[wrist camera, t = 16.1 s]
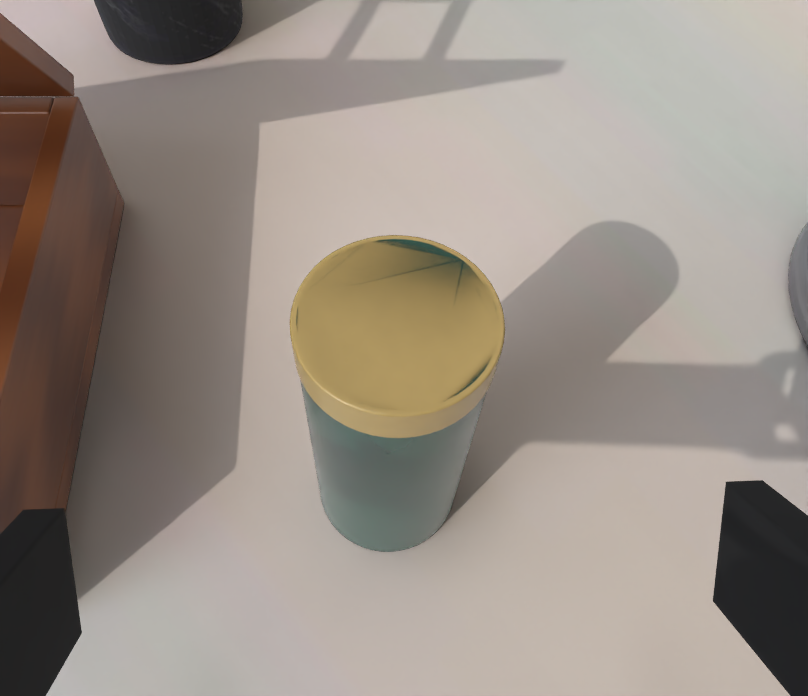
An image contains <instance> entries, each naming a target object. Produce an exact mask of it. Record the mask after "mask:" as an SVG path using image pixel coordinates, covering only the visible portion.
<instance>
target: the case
mask: <svg viewBox="0 0 808 696" xmlns="http://www.w3.org/2000/svg"><path fill="white" fill-rule="evenodd" d="M123 208H124V202H123V199H122V197H121V195H120V192H119V190H118V188H117V186H116V184H115V181H114V179H113V177H112V174H111V172H110V170H109V167H108V165H107V163H106V160H105V158H104V156H103V153H102V151H101V149H100V146H99V144H98V142H97V139H96V137H95V135H94V132H93V130H92V128H91V125H90V123H89V121H88V118H87V116H86V114H85V111H84V109H83V107H82V104H81V102H80V100H79V98H78V97H55V98H53V97H0V534H1V533H2V532H3V531H4V530H5V529H6V527H7V526H8V525H9V524H10V523H11V522H12V521H13V520H14V519H15V518H16V517H17V516H18V515H19V514H20V513H21V512H22V510H28V509H53V508H64V509H65V512H66V507H67V502H68V496H69V491H70V486H71V481H72V475H73V470H74V465H75V460H76V454H77V449H78V444H79V439H80V433H81V428H82V423H83V418H84V412H85V407H86V402H87V397H88V391H89V386H90V381H91V376H92V370H93V365H94V360H95V355H96V349H97V344H98V339H99V334H100V328H101V323H102V318H103V313H104V307H105V302H106V297H107V292H108V286H109V281H110V276H111V271H112V265H113V260H114V255H115V250H116V244H117V239H118V234H119V229H120V223H121V218H122V213H123Z"/></svg>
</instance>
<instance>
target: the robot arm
mask: <svg viewBox="0 0 808 696" xmlns="http://www.w3.org/2000/svg"><path fill="white" fill-rule="evenodd" d="M788 279H789V293H790V299H791V305H792V308H793V312H794V316H795V319H796V322H797V324H798V327H799V329H800V332H801V334H802V336H803V338H804V340H805V342H806V344H807V346H808V223H807V224H806V225H805V227H804V228H803V229H802V231H801V233H800V235H799V236H798V238H797V240H796V243H795V245H794V248H793V250H792V254H791V259H790V263H789V274H788ZM713 602H714V603H715V604H716V605H717V607H718V608H719V609H720V610H721V611H722V613H723V614H724V615H725V616H726V618H727V619H728V620H729V621H730V622H731V624H732V625H733V626H734V627H735V629H736V630H737V631H738V632H739V633H740V635H741V636H742V637H743V638H744V640H745V641H746V642H747V643H748V644H749V646H750V647H751V648H752V649H753V650H754V652H755V653H756V654H757V655H758V657H759V658H760V659H761V660H762V661H763V663H764V664H765V665H766V666H767V668H768V669H769V670H770V671H771V672H772V674H773V675H774V676H775V677H776V679H777V680H778V681H779V682H780V683H781V685H782V686H783V687H784V688H785V690H786V691H787V692H788V693H789V694H790V696H808V516H807V515H806V514H805V513H804V512H802V511H801V510H800V509H798V508H797V507H796V506H795V505H793V504H792V503H791V502H789V501H788V500H787V499H786V498H784V497H783V496H782V495H780V494H779V493H778V492H777V491H775V490H774V489H773V488H771V487H770V486H769V485H768V484H766V483H765V482H764V481H762V480H761V481H735V482H726V487H725V496H724V505H723V514H722V523H721V532H720V541H719V551H718V560H717V569H716V578H715V587H714V596H713ZM81 633H82V631H81V624H80V617H79V610H78V602H77V595H76V588H75V581H74V574H73V567H72V559H71V552H70V545H69V538H68V531H67V523H66V516H65V509H64V508H53V509H28V510H22V512H21V513H20V514H19V515H18V516H17V517H16V518H15V519H14V520H13V521H12V522H11V523H10V524H9V525H8V526H7V527H6V529H5V530H4V531H3V532H2V533H1V534H0V696H46V694H47V693H48V691H49V689H50V687H51V686H52V684H53V682H54V680H55V679H56V677H57V675H58V673H59V672H60V670H61V668H62V666H63V665H64V663H65V661H66V659H67V658H68V656H69V654H70V652H71V651H72V649H73V647H74V645H75V644H76V642H77V640H78V638H79V637H80V635H81Z"/></svg>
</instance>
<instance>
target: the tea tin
mask: <svg viewBox="0 0 808 696" xmlns="http://www.w3.org/2000/svg"><path fill="white" fill-rule="evenodd" d="M290 335H291V341H292V346H293V352H294V358H295V363H296V368H297V371H298V374H299V377H300V380H301V386H302V391H303V397H304V403H305V409H306V414H307V420H308V426H309V432H310V437H311V443H312V449H313V455H314V460H315V466H316V472H317V478H318V483H319V489H320V495H321V500H322V504H323V507H324V510H325V512H326V514H327V516H328V518H329V520H330V521H331V523H332V524H333V526H334V527H335V528H336V529H337V530H338V531H339V532H340V533H341V534H342V535H343V536H344V537H345V538H347V539H348V540H350V541H351V542H353V543H355V544H357V545H359V546H361V547H364V548H367V549H370V550H375V551H383V552H392V551H400V550H405V549H409V548H411V547H414V546H416V545H418V544H420V543H422V542H424V541H425V540H427V539H428V538H429V537H431V536H432V535H433V534H434V533H435V532H436V531H437V530H438V529H439V528H440V527H441V525H442V524H443V523H444V521H445V520H446V518H447V516H448V514H449V512H450V509H451V507H452V504H453V500H454V497H455V494H456V491H457V487H458V484H459V481H460V478H461V474H462V471H463V468H464V464H465V461H466V458H467V455H468V451H469V448H470V445H471V442H472V438H473V435H474V432H475V429H476V425H477V422H478V419H479V416H480V412H481V409H482V406H483V402H484V399H485V396H486V393H487V390H488V388H489V386H490V384H491V382H492V379H493V377H494V374H495V371H496V367H497V364H498V361H499V358H500V355H501V351H502V347H503V343H504V335H505V323H504V315H503V310H502V306H501V303H500V301H499V298H498V295H497V293H496V292H495V290H494V288H493V286H492V284H491V283H490V281H489V280H488V279H487V277H486V276H485V275H484V274H483V273H482V271H481V270H480V269H479V268H478V267H477V266H476V265H475V264H473V263H472V262H471V261H470V260H468V259H467V258H466V257H464V256H463V255H461V254H460V253H458V252H457V251H455V250H453V249H451V248H449V247H447V246H445V245H442V244H440V243H437V242H434V241H431V240H427V239H423V238H419V237H412V236H400V235H389V236H378V237H372V238H367V239H363V240H360V241H356V242H353V243H351V244H349V245H346V246H344V247H342V248H340V249H338V250H336V251H334V252H333V253H331V254H330V255H328V256H327V257H326V258H324V259H323V260H322V261H320V262H319V263H318V264H317V265H316V266H315V267H314V268H313V269H312V270H311V272H310V273H309V274H308V275H307V276H306V278H305V279H304V281H303V282H302V284H301V286H300V287H299V289H298V291H297V294H296V296H295V298H294V301H293V305H292V309H291V316H290Z"/></svg>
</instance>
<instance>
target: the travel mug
mask: <svg viewBox="0 0 808 696" xmlns="http://www.w3.org/2000/svg"><path fill="white" fill-rule="evenodd" d="M94 2H95V4H96V7H97V9H98V12H99V14H100V17H101V19H102V22H103V24H104V26H105V29H106V31H107V33H108V35H109V37H110V39H111V40H112V41H113V43H114V44H115V45H116V46H117V47H118V48H119V49H120V50H121V51H123V52H124V53H125V54H127V55H129V56H131V57H133V58H136V59H139V60H142V61H146V62H151V63H157V64H178V63H186V62H191V61H196V60H199V59H202V58H205V57H208V56H210V55H212V54H214V53H216V52H218V51H220V50H221V49H223V48H224V47H226V46H227V45H228V44H229V43H230V42H231V41H232V40H233V39H234V38H235V37H236V35H237V34H238V32H239V30H240V27H241V24H242V3H241V0H94Z"/></svg>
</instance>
